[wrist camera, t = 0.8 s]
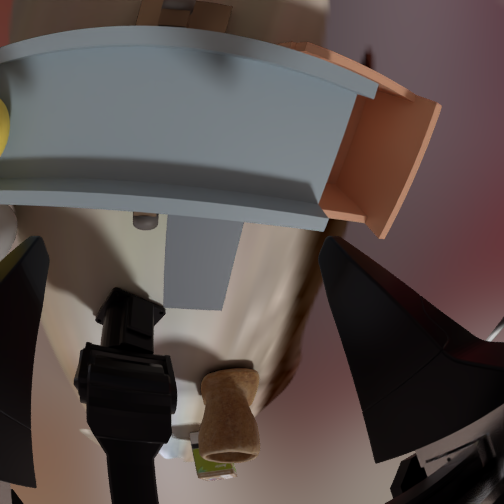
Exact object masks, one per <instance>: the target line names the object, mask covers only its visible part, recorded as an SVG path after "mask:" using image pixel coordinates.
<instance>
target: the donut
mask: <svg viewBox="0 0 504 504" xmlns="http://www.w3.org/2000/svg"><path fill="white" fill-rule="evenodd" d="M16 232H17V218H16V215H15V213H14V212H13V210H12V209H11V208H10V206H8V205H5V204H0V261H1V260H2V259H3V258H5V257H6V255H7V253H8V252H9V250H10V248H11V246H12V244H13V242H14V240H15V237H16Z"/></svg>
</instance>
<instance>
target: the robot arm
mask: <svg viewBox="0 0 504 504" xmlns="http://www.w3.org/2000/svg"><path fill="white" fill-rule="evenodd" d="M318 260H319V265H320V269H321V274H322V278H323V282H324V286H325V290H326V295H327V298H328V302H329V305H330V308H331V311H332V314H333V317H334V320H335V323H336V326H337V329H338V332H339V335H340V338H341V341H342V344H343V348H344V351H345V354H346V357H347V361H348V364H349V367H350V370H351V374H352V377H353V380H354V384H355V387H356V391H357V394H358V398H359V401H360V405H361V409H362V411H363V412H362V413H363V416H364V420H365V424H366V428H367V432H368V436H369V440H370V444H371V448H372V452H373V457H374V460H375V463H380V462H383V461H386V460H389V459H393V458H395V457H398V456H401V455H404V454H407V453H409V452H412V451H415V452H416V453H415V454H413V455H411V456H410V457H408V458H406V459H405V460H403V461H401V463H400V466H399V468H398V471H397V473H396V476H395V478H394V480H393V483H392V485H391V487H390V490H391V493H392V496H393V499H392V500H390V501H388V502H387V503H385V504H504V342H489V341H484V340H482V339H479V338H477V337H476V336H474V335H473V334H471V333H470V332H469V331H467V330H466V329H465V328H463V327H462V326H461V325H459V324H458V323H456V322H455V321H454V320H452V319H451V318H450V317H448V316H447V315H445V314H444V313H443V312H441V311H440V310H439V309H437V308H436V307H435V306H434V305H432V304H431V303H430V302H428V301H427V300H426V299H424V298H423V297H422V296H420V295H419V294H418V293H417V292H416V291H414V290H413V289H412V288H410V287H409V286H408V285H406V284H405V283H404V282H402V281H401V280H400V279H398V278H397V277H396V276H394V275H393V274H391V273H390V272H389V271H388V270H386V269H385V268H383V267H382V266H381V265H379V264H378V263H377V262H375V261H374V260H372V259H371V258H370V257H368V256H367V255H365V254H364V253H363V252H361V251H360V250H358V249H357V248H355V247H354V246H353V245H351V244H350V243H348V242H347V241H345V240H344V239H342V238H341V237H339V236H328V237H327V238H326V239H325V242H324V244H323V246H322V249H321V251H320V254H319V258H318ZM48 269H49V255H48V252H47V250H46V247H45V244H44V241H43V239H42V237H40V236H30V237H29V238H27V239H26V240H25V241H24V242H22V243H21V244H20V245H19V246H17V247H16V248H15V249H14V250H13V251H12V252H10V253H9V254H8V255H7V256H6V257H5V258H3V259H2V260H1V261H0V504H23V502H22V501H21V500H20V498H19V497H18V496H17V494H16V493H15V492H14V490H13V489H11V488H10V483H12V484H16V485H21V486H26V487H32V488H36V479H35V473H34V464H33V453H32V438H31V390H32V375H33V364H34V355H35V347H36V341H37V335H38V329H39V323H40V318H41V313H42V307H43V301H44V294H45V287H46V280H47V274H48ZM116 292H117V293H116ZM165 314H166V311H165V308H163V307H160V306H158V305H156V304H153V303H151V302H149V301H146V300H144V299H142V298H139V297H137V296H135V295H132V294H130V293H128V292H126V291H124V290H121V289H119V288H114V289H113V290H112V292H111V293H110V295H109V296H108V298H107V299H106V301H105V303H104V304H103V306H102V308H101V309H100V311H99V312H98V314H97V316H96V319H95V321H96V322H97V323H99V324H102V325H103V329H102V337H101V345H95V344H92V343H89V342H86V346H85V348H83V350H81V351H80V358H79V364H78V368H77V371H76V375H75V378H74V386H75V387H76V388H77V390H78V393H79V395H80V402H81V403H85V404H87V423H88V425H89V427H90V428H91V431H92V432H93V434H94V436H95V437H96V439H97V440H98V442H99V444H100V445H101V447H102V448H103V450H104V452H105V453H106V455H107V467H108V477H109V486H110V493H111V500H112V504H159V502H158V494H157V486H156V477H155V466H154V458H155V457H156V455H157V454H158V452H159V450H160V449H161V447H162V446H163V444H167V443H168V441H169V439H170V437H171V435H172V428H171V414H174V413H175V411H176V406H177V387H176V381H175V377H174V372H173V368H172V363H171V358H170V356H169V355H165V356H162V355H154V354H153V353H154V347H153V335H154V326H155V325H156V324H157V322H158V321H159V320H160V319H161V318H162V317H163V316H164V315H165Z"/></svg>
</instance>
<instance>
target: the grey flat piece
mask: <svg viewBox="0 0 504 504" xmlns="http://www.w3.org/2000/svg"><path fill="white" fill-rule="evenodd" d="M378 85H379V84H378V83H376V82H374V81H372V80H370V79H367V78H365V77H363V76H361V75H359V74H357V73H354V72H352V71H350V70H347V69H345V68H343V67H340V66H338V65H335V64H333V63H330V62H328V61H325V60H322V59H320V58H317V57H314V56H311V55H308V54H305V53H302V52H299V51H296V50H293V49H290V48H286V47H283V46H279V45H276V44H272V43H268V42H264V41H260V40H256V39H252V38H247V37H242V36H237V35H232V34H226V33H221V32H214V31H207V30H200V29H191V28H180V27H166V26H111V27H97V28H87V29H79V30H71V31H65V32H59V33H53V34H48V35H44V36H39V37H35V38H31V39H27V40H23V41H19V42H16V43H12V44H9V45H6V46H3V47H0V99H1V100H2V101H3V102H4V104H5V105H6V107H7V110H8V113H9V118H10V132H9V137H8V141H7V144H6V146H5V149H4V151H3V153H2V154H1V156H0V204H5V205H33V206H55V207H74V208H90V209H106V210H120V211H133V212H146V213H158V214H168V219H167V231H166V247H165V266H164V302H163V307H165V308H181V309H199V310H222V308H223V303H224V299H225V295H226V291H227V287H228V283H229V279H230V275H231V271H232V267H233V263H234V259H235V255H236V251H237V247H238V244H239V240H240V236H241V232H242V228H243V224H244V222H249V223H258V224H266V225H275V226H283V227H291V228H299V229H307V230H315V231H322V232H323V231H324V229H325V227H326V224H327V222H328V220H329V218H328V217H327V215H326V214H325V213H324V211H323V210H322V209H321V207H320V206H319V205H318V204H319V201H320V199H321V196H322V193H323V191H324V188H325V185H326V183H327V180H328V177H329V175H330V172H331V169H332V166H333V164H334V161H335V158H336V155H337V153H338V150H339V147H340V144H341V141H342V139H343V136H344V133H345V130H346V127H347V124H348V121H349V118H350V115H351V112H352V109H353V106H354V103H355V100H356V97H357V94H358V95H362V96H365V97H368V98H371V99H374V98H375V95H376V91H377V88H378Z"/></svg>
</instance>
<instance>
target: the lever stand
mask: <svg viewBox="0 0 504 504" xmlns="http://www.w3.org/2000/svg"><path fill="white" fill-rule="evenodd" d="M232 8H233V6H227V5H222V4H216V3H209V2H202V1H196V0H142V3H141V7H140V10H139V14H138V17H137V21H136V25H135V26H166V27H180V28H191V29H200V30H207V31H214V32H221V33H225V32H226V28H227V25H228V21H229V18H230V14H231V11H232ZM158 215H159V214H158V213H146V212H133V225H134V227H136V228H137V229H140V230H151V229H154V228H155V227H157V225H158Z"/></svg>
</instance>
